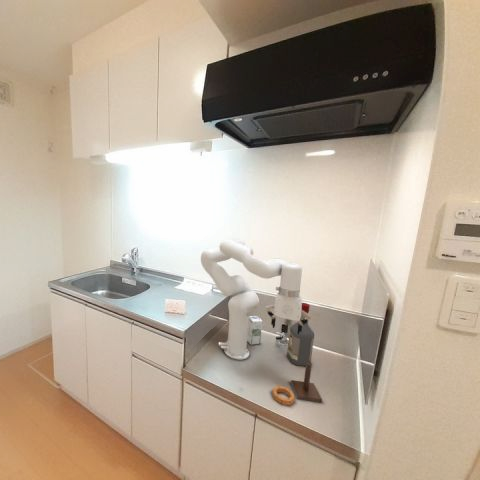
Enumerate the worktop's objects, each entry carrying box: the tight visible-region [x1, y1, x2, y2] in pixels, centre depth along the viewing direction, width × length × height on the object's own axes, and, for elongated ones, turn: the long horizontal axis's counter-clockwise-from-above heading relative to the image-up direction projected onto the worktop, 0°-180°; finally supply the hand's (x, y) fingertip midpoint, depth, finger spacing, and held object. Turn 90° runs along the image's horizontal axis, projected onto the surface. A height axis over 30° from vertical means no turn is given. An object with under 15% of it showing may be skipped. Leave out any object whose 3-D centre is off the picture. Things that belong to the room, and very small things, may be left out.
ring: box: [272, 385, 296, 406], centre depth 104 cm, size 8×8×2 cm
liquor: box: [286, 302, 315, 367], centre depth 124 cm, size 9×9×30 cm
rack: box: [290, 362, 323, 403], centre depth 105 cm, size 9×9×14 cm
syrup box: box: [247, 315, 263, 346], centre depth 141 cm, size 6×6×14 cm
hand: (285, 329), depth 109 cm, fingers open, 9 cm apart
